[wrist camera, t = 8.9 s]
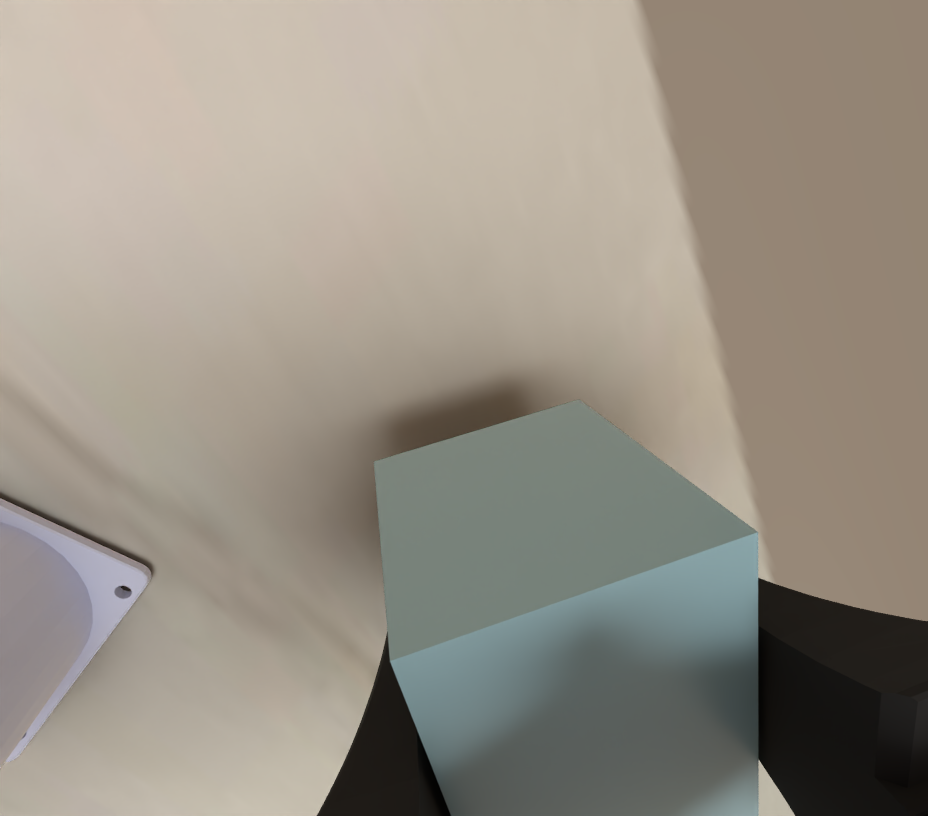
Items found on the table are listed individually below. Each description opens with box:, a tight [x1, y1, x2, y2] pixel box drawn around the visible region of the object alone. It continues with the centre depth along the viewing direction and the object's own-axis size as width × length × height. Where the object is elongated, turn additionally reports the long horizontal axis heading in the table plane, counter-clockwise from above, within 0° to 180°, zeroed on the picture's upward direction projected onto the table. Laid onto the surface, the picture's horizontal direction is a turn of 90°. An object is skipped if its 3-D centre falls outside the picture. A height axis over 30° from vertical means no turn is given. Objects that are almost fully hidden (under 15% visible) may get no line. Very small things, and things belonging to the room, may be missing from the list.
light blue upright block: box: [374, 400, 758, 816], centre depth 12 cm, size 9×6×7 cm
